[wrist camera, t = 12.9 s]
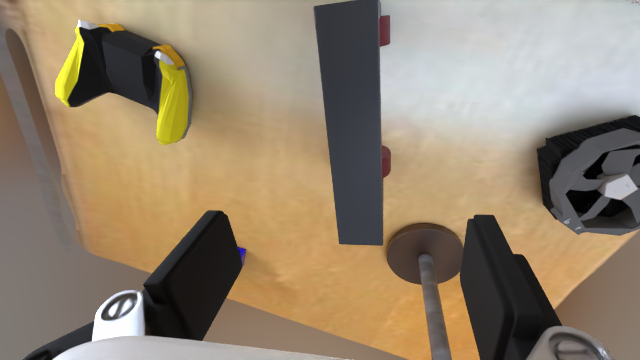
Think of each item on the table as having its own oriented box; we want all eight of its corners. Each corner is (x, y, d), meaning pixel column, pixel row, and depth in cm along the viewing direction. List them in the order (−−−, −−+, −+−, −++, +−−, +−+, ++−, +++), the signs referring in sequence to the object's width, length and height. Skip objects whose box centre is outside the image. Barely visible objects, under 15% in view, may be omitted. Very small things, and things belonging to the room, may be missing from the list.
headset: (389, 0, 28) (393, -5, 16) (390, 167, 36) (393, 246, 24) (334, 7, 29) (299, 8, 17) (347, 168, 38) (329, 244, 26)
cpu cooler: (709, 124, 24) (695, 225, 28) (653, 103, 28) (648, 192, 32) (554, 160, 27) (561, 246, 31) (528, 137, 32) (537, 213, 36)
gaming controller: (198, 136, 39) (210, 59, 34) (173, 154, 34) (182, 68, 29) (88, 91, 39) (83, 6, 34) (48, 103, 34) (34, 7, 29)
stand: (467, 223, 38) (535, 399, 21) (459, 280, 43) (509, 461, 26) (386, 222, 40) (388, 380, 23) (387, 276, 45) (389, 441, 28)
